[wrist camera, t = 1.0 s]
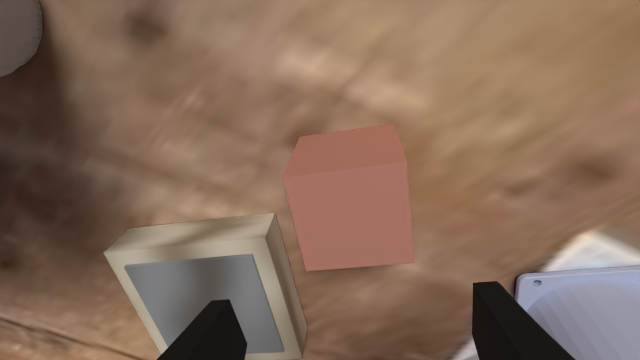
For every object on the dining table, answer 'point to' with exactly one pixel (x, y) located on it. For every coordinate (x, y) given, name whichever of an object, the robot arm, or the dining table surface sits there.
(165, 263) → the base
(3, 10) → the coffee cup
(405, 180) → the block
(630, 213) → the dining table surface
